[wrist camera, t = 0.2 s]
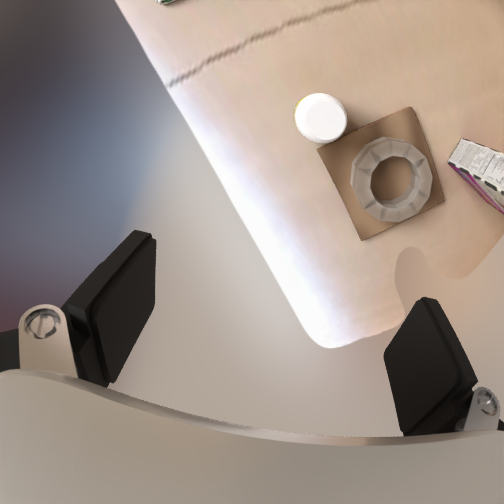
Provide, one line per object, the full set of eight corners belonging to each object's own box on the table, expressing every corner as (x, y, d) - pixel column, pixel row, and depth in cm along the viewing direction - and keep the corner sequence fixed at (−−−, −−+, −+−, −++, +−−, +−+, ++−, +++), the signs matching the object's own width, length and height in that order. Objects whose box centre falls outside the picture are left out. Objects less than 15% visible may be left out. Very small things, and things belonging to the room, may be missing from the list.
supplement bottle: (345, 116, 33) (365, 123, 24) (315, 144, 35) (324, 160, 26) (314, 85, 31) (324, 81, 23) (284, 114, 33) (283, 119, 25)
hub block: (408, 106, 30) (421, 108, 27) (441, 198, 36) (454, 209, 32) (316, 149, 35) (320, 155, 32) (359, 237, 40) (365, 251, 37)
